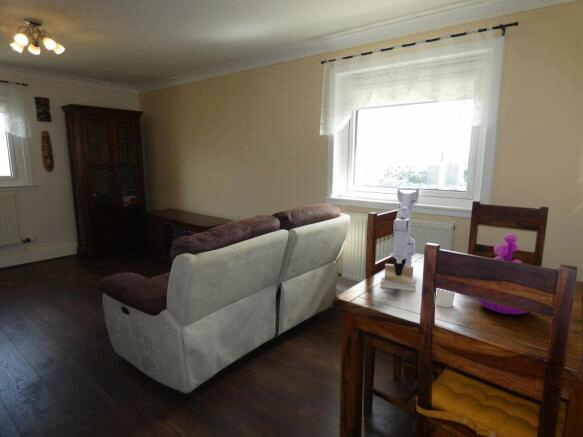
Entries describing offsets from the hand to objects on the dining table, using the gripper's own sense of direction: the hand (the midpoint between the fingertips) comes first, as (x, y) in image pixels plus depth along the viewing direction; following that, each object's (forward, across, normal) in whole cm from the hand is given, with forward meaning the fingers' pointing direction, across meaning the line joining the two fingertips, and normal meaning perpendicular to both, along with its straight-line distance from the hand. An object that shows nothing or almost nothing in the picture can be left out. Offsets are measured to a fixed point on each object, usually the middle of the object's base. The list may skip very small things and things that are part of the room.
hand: (398, 274), depth 154 cm
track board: (+6, 0, 0) cm, 6 cm away
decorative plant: (+6, +12, +39) cm, 41 cm away
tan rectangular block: (+3, 0, 0) cm, 3 cm away
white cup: (+6, +14, +18) cm, 24 cm away
